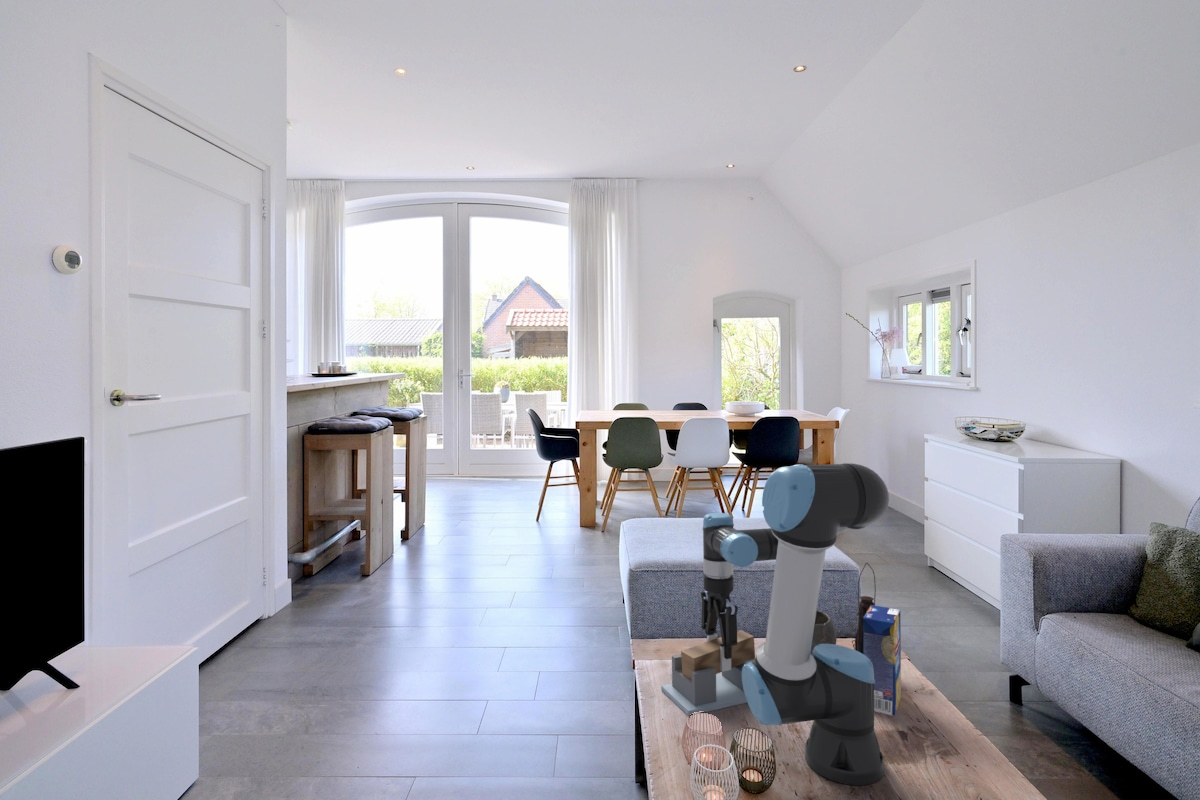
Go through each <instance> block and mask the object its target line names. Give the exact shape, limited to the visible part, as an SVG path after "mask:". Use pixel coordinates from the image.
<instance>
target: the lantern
mask: <svg viewBox="0 0 1200 800" xmlns="http://www.w3.org/2000/svg"><path fill="white" fill-rule="evenodd" d="M866 566H869V568H870V569H871V570H872V573H873V579H874V580H873V581H874V584H876V575H875V571H874V569H873V568H872V566H871V565H870V563H868V562H866V563H864V566H863V568H862V570H861V571H860V573H859V574H860V575H859V578H858V582H857V605H858V606H857V607H858V608H857V609H858V612H857V614H856V616H858V618H857V620H858V621H857V622H858V623H857V630H856V633H855V638H854V640H851V643H852V647H853V649H854V650H856V651H858V652H860V653H862V654H863V617H864V616H865V614H866V612H867V611H868V609H869V607H870V606H871V605H875V606H876V595H874V596H873V597H871V596H868V595H867V596H866V595H862V596H860V595H859V594H860V580H861V577H862V576H861V575H862V572H863V571H864V569H865V567H866ZM876 591H877V590H876V586H874V593H876ZM859 596H860V597H859ZM859 599H860V600H859Z"/></svg>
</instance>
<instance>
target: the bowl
mask: <svg viewBox="0 0 1200 800" xmlns="http://www.w3.org/2000/svg"><path fill="white" fill-rule="evenodd" d="M819 644H835V645H837V631H836V626H835V625H834V623H833V620H832V619H831V617H830V616H829V615H828V614H827V613H826V612H824V611H822V610H819V609H817V612H816V618H815V625H814V632H813V638H812V645H811V652H810V654H811V655H812V656H814V655H813V650H814V647H815V646H817V645H819Z"/></svg>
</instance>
